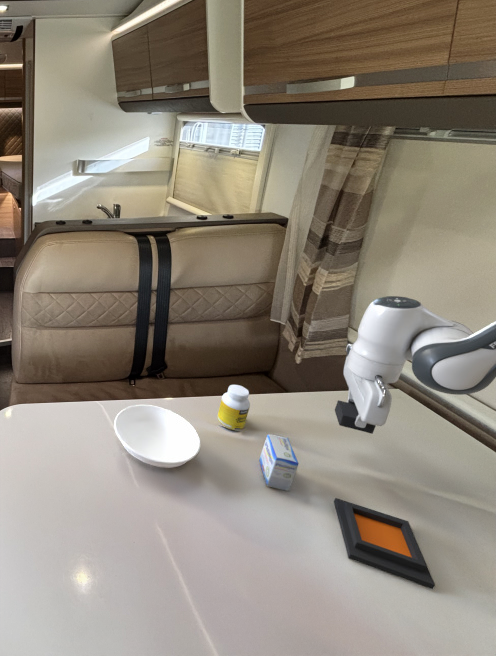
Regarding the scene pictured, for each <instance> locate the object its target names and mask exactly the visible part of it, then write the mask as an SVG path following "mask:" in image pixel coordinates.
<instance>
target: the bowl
mask: <svg viewBox="0 0 496 656" xmlns="http://www.w3.org/2000/svg"><path fill="white" fill-rule="evenodd" d="M113 425H114V426H113V429H114V432H115V434H116V436H117V438H118V439H119V441H120V443H121V445H122V446H123V448H124V449H125V450H126V451H127V452H128V453H129V454H130V455H131V456H133V457H134V458H135V459H136V460H138V461H140V462H143V463H145V464H147V465H149V466H154V467H158V468H167V469H168V468H169V469H170V468H176V467H177V468H178V467H180V466H183V465H185V463H187V462H188V461H191V460H192V459H194V458H195V457H196V456H198V454H199V452H200V449H201V439H200V436H199V434H198V431H197V430H196V429H195V427H194V426H193V425H192V424H191V423H190V421H188V420H187V419H185V418H184V417H183V416H181V414H178V413H176V412H175V411H172V410H170V409H167V408H165V407H161V406H157V405H151V404H135V405H130V406H127V407H125V408H123V409H121V410H120V411H119V412H118V413H117V414H116V417H115V418H114V422H113Z"/></svg>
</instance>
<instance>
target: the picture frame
mask: <svg viewBox="0 0 496 656" xmlns="http://www.w3.org/2000/svg"><path fill="white" fill-rule="evenodd" d="M333 504H334V507H335V511H336V515H337V520H338V523H339V527H340V531H341V536H342V539H343V543H344V546H345V550H346V554H347V558H348V559H350V560H352V561H355V562H358V563H361V564H363V565H366V566H368V567H370V568H374V569H377V570H380V571H382V572H384V573H387V574H390V575H392V576H395V577H398V578H401V579H403V580H406V581H409V582H411V583H414V584H417V585H420V586H423V587H425V588H428V589H430V590H434V588H435V586H436V583H435V582H434V579H433V577H432V574H431V571H430V569H429V567H428V564H427V562H426V559H425V558H424V554H423V553H422V551H421V550H422V549H421V547H420V545H419V543H418V541H417V539H416V536H415V534H414V532H413V529H412V527H411V525H410V522H409V520H406V519H403V518H400V517H397V516H393V515H391V514H388V513H385V512H381V511H378V510H375V509H372V508H370V507H369V508H368V507H365V506H363V505H359V504H356V503H354V502H350V501H347V500H344V499H340V498H338V497H335V498H334V499H333Z"/></svg>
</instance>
